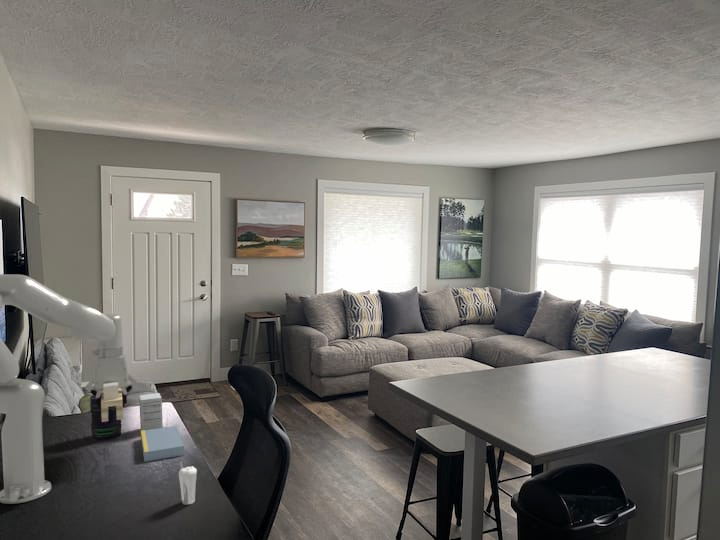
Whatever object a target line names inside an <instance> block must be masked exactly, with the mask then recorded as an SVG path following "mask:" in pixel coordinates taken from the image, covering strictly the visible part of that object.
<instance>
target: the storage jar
mask: <svg viewBox="0 0 720 540" xmlns="http://www.w3.org/2000/svg"><path fill="white" fill-rule="evenodd" d="M93 389H94V390H96V389H95V388H94V387H93ZM101 394H102V392H101ZM89 399H90V400H89V403H90V404H89V408H90V409H89V411H90V414H91V423H90V432H91V440H92V441H94V442H106V441H108V442H109V441H112V440H116V439H118V438H120V437H121V436H122V419H119V420H117V412H116V406H110V407H108V421H105V422H102V415H101V410H100V407H97V398H96V397H95V396H94V395H93V394H92V395H90V396H89Z"/></svg>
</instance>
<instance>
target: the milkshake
mask: <svg viewBox="0 0 720 540" xmlns="http://www.w3.org/2000/svg"><path fill="white" fill-rule="evenodd" d="M179 463H180V464H179V465H180V467H181V468H180V470H179V471H178V478H179V485H180V487H179V488H180V495H181V503H182V504H183V505H184V506H185V505H188V506H189V505H192V504H194V503H195V502H196V482H197V474H198V473H197V472H198V471H197V470H198V469H197V468H196V467H195V466H193V465H192V466H186V467H184V466H183V462H182V461H180V462H179Z"/></svg>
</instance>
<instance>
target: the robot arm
mask: <svg viewBox="0 0 720 540" xmlns="http://www.w3.org/2000/svg"><path fill="white" fill-rule="evenodd" d="M4 305H5V306H13V307H16V308H18V309H20V310H22V311H24V312H26V313H27V314H30V315H31V316H33V317H35V318H37V319H39V320H40V321H42V322H45V323H47V324H51V325H55V326H61V327H67V328H68V333H69V336H70V337H71V338H72V339H74V340H77V341H81V342H92V343H93V342H94V343H95V342H96V349H95V350H92V355H93V356H96V357H95V358H94V361H93V363H94V364H93V378H92V379H90V381H89V382H87V384H86V385H85V386H84V389H85V390H86V391H87V392H89V393H90V394H92V395H94V396H95V397H96V398H97V407H100V410H101V393H102V390H103V384H106V383H115V382H118V388H121V390H122V400H123V408H125V407H126V405H125V404H128V401H127V400H128V399H127V395H128V394H129V392H130V391H131V390H132V389H133V388H134V387H135V385H137V384H138V380H137V379H135V378H134V377H133V376H132V375H131V374H129V369H128V361H127V358H126V355H125V354H124V351H123V350H124V348H123V347H124V346H123V325H122V324H123V321H122V320H123V319H122V317H121V315H120V314H115V313H110V314H109V313H107V314H104V313H102V312H101V311H99V310H97V309H95V308H93V307H90V306H88V305H86V304H83V303H81V302H78V301H76V300H73V299H70V298H67V297H64V296H63V295H61V294H60V293H58V292H56V291H54V290H52V289H51V288H50V287H47V286H46V285H44V284H42V283H41V282H39V281H37V280H36V279H34V278H32V277H30V276H28V275H24V274H19V273H18V274H17V273H16V274H15V273H14V274H10V273H9V274H0V310H2V306H4ZM19 373H20V365H19V361H18V360H17V358H16V357H15V356H14V355H13V354H12V352H11V351H10V349H9V348H8V346H7V345H6V343H5V342H4V341H3V340H2V338H1V337H0V414H5V418H4V421H3V424H2V427H1V433H0V434H1V435H0V436H1V437H0V439H1V451H2V453H1V455H2V472H3V473H2V475H3V476H2V477H3V489H2V490H0V503H2V504H6V505H7V504H8V505H14V504H22V503H26V502H31V501H34V500H36V499H39V498H42V497H43V496H45V495H47V494H48V493H49V492H50V491H51V490H52V483H51V481H48V480H45V465H44V464H45V462H44V458H45V457H44V443H43V442H44V440H43V439H44V438H43V411H44V407H45V397H46V396H45V391H44V388H43V387H42V386H41V385H40V384H39V383H37V382H36V381H33V380H30V379H24V378H23V379H22V378H18V376H19ZM129 381H130V383H129ZM92 386H93V387H92ZM94 388H95V389H94Z"/></svg>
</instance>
